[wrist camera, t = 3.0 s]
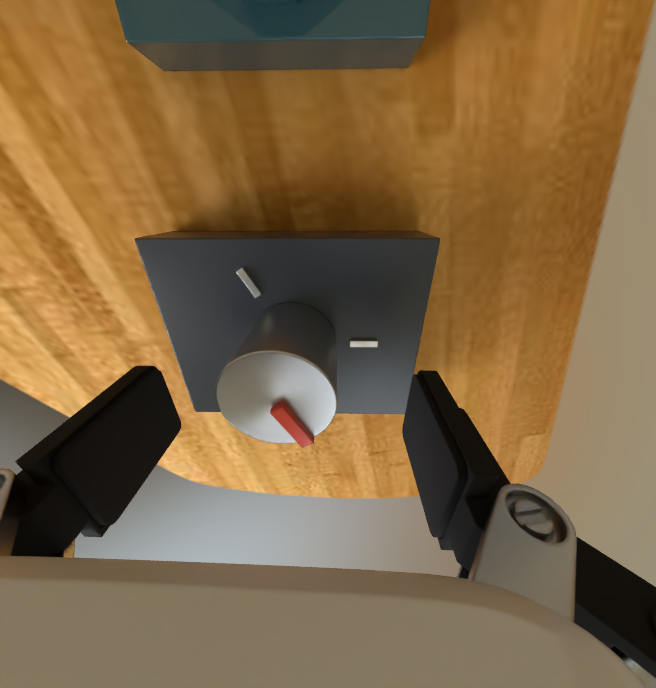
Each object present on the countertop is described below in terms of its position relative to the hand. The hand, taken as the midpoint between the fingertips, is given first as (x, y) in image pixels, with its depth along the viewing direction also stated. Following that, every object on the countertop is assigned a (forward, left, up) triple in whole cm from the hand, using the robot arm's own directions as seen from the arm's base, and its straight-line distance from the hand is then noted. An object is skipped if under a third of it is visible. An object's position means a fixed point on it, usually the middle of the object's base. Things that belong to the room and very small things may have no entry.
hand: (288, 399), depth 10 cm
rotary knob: (0, 0, -4) cm, 4 cm away
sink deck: (0, 0, -7) cm, 7 cm away
